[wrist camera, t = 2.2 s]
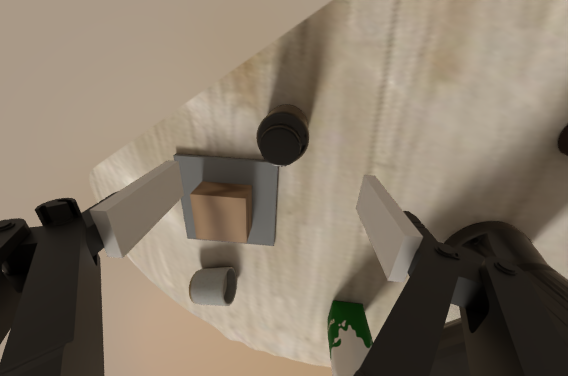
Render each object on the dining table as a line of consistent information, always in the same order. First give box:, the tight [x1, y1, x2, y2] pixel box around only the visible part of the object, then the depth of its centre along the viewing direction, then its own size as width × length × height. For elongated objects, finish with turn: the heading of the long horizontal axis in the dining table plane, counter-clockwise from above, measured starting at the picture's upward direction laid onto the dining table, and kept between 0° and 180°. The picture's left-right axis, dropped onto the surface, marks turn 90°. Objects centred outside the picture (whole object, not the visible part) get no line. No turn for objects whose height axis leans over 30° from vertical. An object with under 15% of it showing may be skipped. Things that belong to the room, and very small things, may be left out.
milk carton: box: [328, 301, 373, 376], centre depth 46 cm, size 9×9×20 cm
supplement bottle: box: [257, 105, 309, 167], centre depth 30 cm, size 7×7×12 cm
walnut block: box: [190, 181, 252, 243], centre depth 40 cm, size 9×9×5 cm
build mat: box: [173, 154, 278, 246], centre depth 42 cm, size 18×18×1 cm
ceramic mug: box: [189, 267, 237, 306], centre depth 49 cm, size 11×8×8 cm
